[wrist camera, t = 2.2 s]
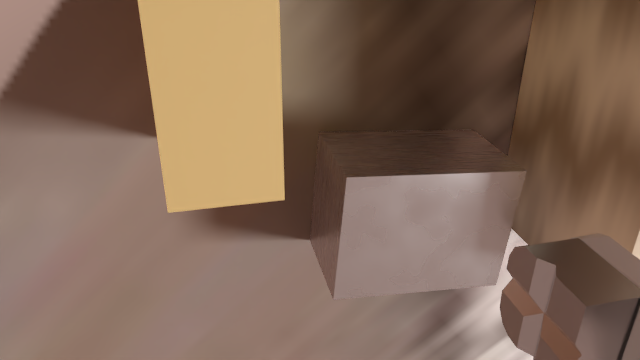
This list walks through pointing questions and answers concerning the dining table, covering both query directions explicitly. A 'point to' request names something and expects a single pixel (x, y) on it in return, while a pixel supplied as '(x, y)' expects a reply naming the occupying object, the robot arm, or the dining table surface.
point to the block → (411, 210)
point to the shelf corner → (580, 123)
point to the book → (216, 100)
